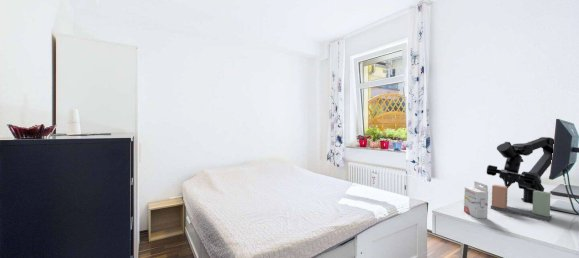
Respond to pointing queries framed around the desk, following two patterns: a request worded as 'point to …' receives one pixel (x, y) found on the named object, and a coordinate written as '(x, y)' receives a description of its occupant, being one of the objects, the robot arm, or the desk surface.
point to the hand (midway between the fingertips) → (506, 187)
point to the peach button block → (499, 196)
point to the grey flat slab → (523, 213)
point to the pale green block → (541, 203)
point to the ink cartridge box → (476, 200)
